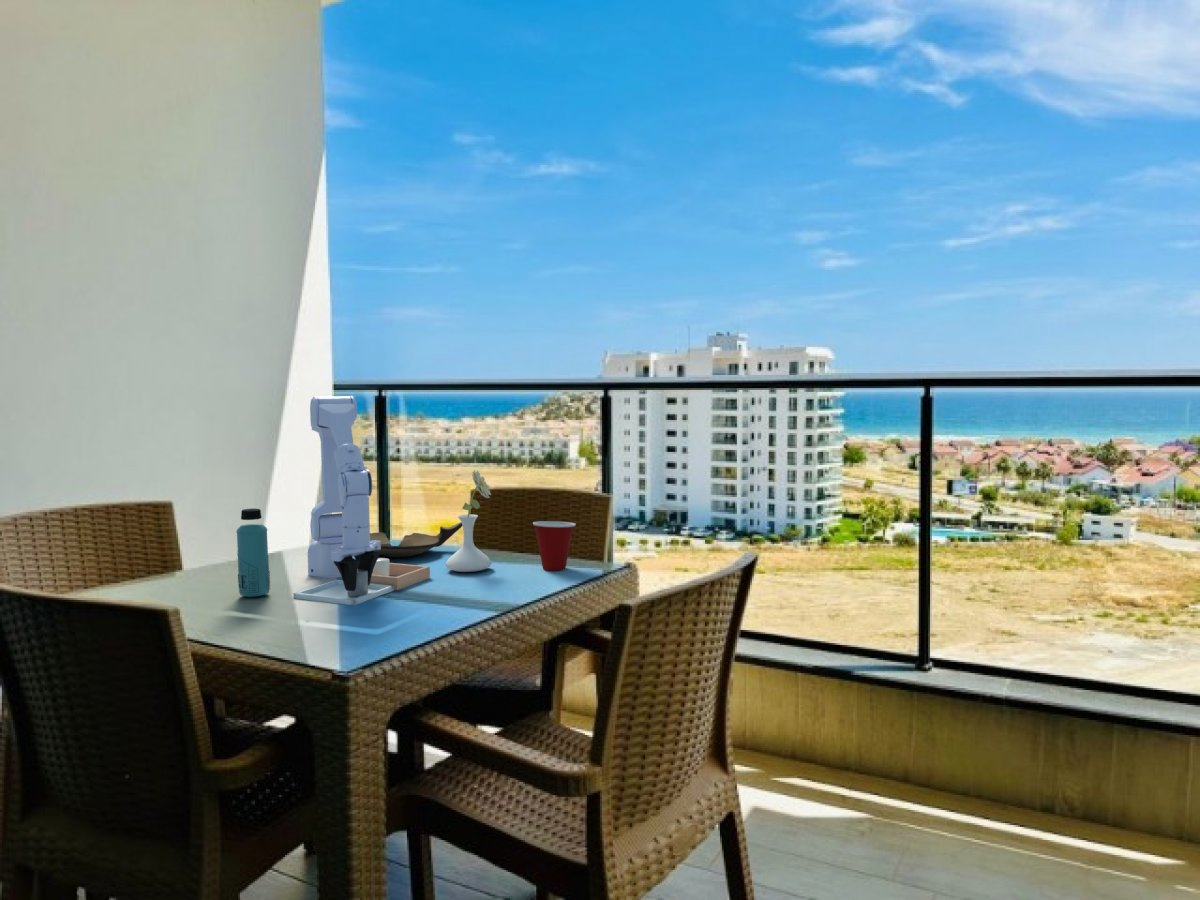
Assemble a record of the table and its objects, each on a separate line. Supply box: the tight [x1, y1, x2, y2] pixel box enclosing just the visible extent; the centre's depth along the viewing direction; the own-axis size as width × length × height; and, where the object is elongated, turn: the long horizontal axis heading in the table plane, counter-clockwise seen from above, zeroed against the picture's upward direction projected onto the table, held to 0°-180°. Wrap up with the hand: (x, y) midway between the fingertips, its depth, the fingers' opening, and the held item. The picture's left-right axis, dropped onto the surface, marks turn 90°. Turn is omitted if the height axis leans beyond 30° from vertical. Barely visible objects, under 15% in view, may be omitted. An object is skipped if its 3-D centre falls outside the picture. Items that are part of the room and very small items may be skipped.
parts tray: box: [292, 579, 395, 606], centre depth 195 cm, size 16×14×2 cm
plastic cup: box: [532, 520, 577, 572], centre depth 224 cm, size 11×11×12 cm
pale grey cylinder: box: [372, 557, 391, 576], centre depth 208 cm, size 4×4×5 cm
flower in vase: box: [445, 469, 492, 573], centre depth 222 cm, size 13×11×25 cm
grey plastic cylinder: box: [347, 569, 368, 597], centre depth 194 cm, size 4×4×5 cm
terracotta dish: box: [370, 562, 431, 591], centre depth 207 cm, size 13×13×4 cm
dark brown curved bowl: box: [370, 521, 463, 558], centre depth 242 cm, size 22×30×8 cm
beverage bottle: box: [236, 508, 271, 597], centre depth 193 cm, size 6×7×20 cm
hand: (357, 587), depth 194 cm, fingers closed on grey plastic cylinder, 4 cm apart
